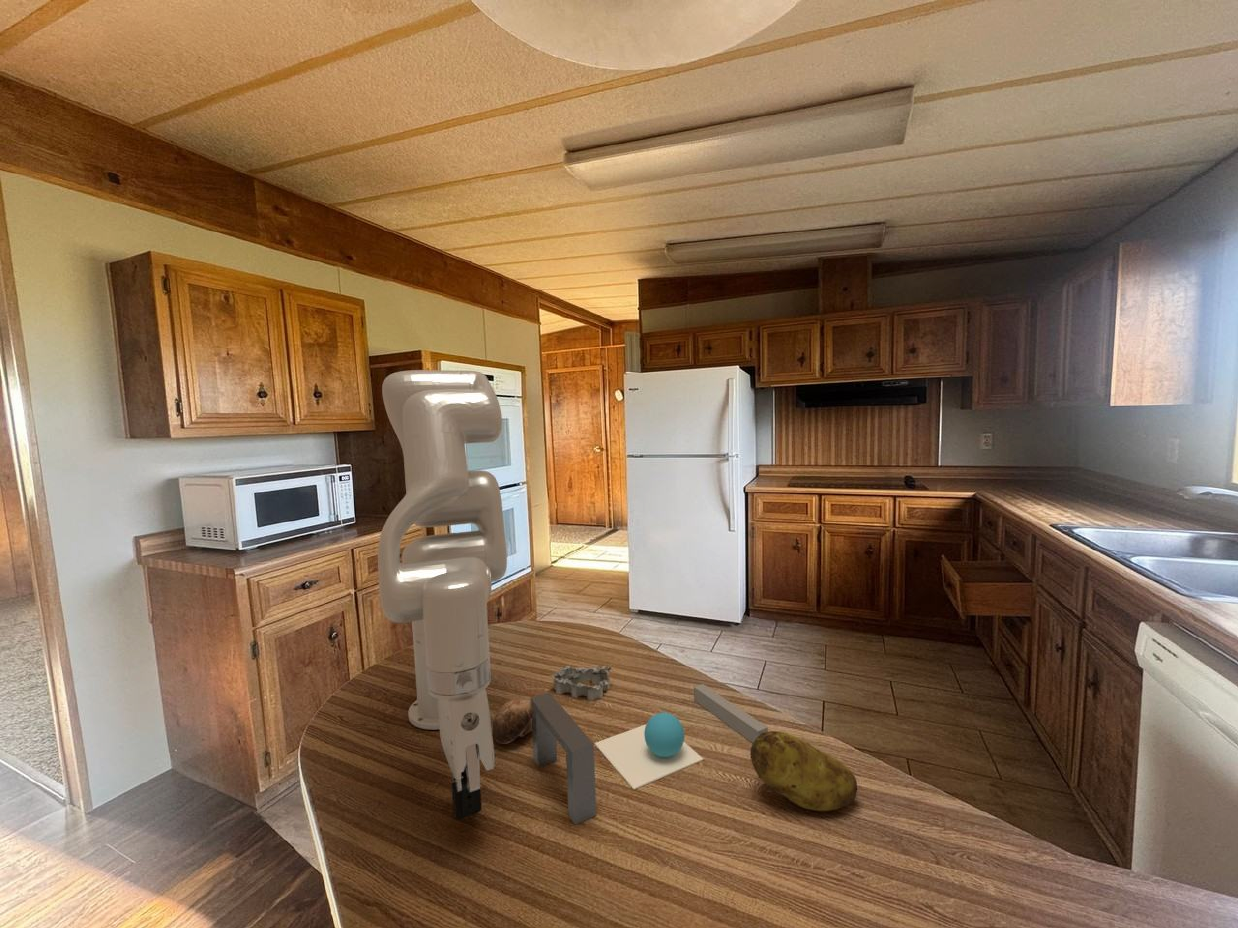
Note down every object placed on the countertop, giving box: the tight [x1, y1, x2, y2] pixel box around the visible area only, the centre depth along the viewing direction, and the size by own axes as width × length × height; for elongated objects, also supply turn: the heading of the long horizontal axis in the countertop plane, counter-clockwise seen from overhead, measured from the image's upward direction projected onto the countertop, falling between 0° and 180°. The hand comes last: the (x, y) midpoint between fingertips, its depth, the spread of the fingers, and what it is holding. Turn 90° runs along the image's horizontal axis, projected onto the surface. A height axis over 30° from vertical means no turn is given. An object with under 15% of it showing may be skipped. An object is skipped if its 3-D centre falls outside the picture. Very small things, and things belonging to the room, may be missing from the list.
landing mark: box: [594, 724, 704, 790], centre depth 80 cm, size 12×12×1 cm
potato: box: [749, 730, 858, 812], centre depth 69 cm, size 8×13×8 cm, turn 58°
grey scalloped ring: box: [550, 665, 613, 701], centre depth 100 cm, size 10×7×4 cm
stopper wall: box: [693, 683, 769, 744], centre depth 88 cm, size 16×2×2 cm, turn 29°
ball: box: [644, 712, 685, 757], centre depth 79 cm, size 6×6×6 cm
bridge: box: [530, 692, 597, 826], centre depth 73 cm, size 3×15×10 cm, turn 29°
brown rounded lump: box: [492, 697, 532, 745], centre depth 85 cm, size 8×8×6 cm
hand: (467, 811), depth 67 cm, fingers closed
